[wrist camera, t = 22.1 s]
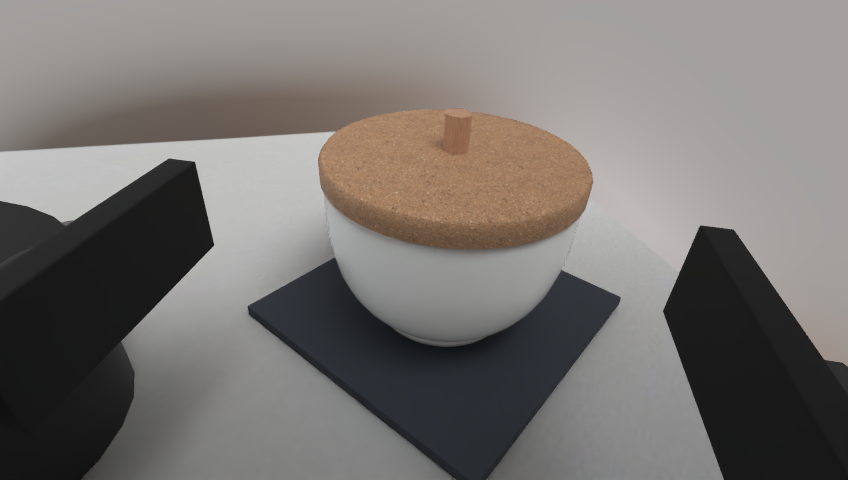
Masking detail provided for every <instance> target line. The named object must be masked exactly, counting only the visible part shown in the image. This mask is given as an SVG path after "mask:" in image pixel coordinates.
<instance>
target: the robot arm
mask: <svg viewBox="0 0 848 480" xmlns="http://www.w3.org/2000/svg"><path fill="white" fill-rule="evenodd" d="M213 246H214V242H213V238H212V234H211V229H210V225H209V221H208V216H207V212H206V208H205V204H204V199H203V195H202V191H201V186H200V182H199V178H198V173H197V169H196V165H195V162H192V161H184V160H176V159H168V160H166V161H165V162H163V163H161V164H160V165H158V166H157V167H155V168H154V169H152V170H151V171H149V172H148V173H146V174H145V175H143V176H142V177H140V178H139V179H137V180H135V181H134V182H132V183H131V184H129V185H128V186H126V187H125V188H123V189H122V190H120V191H119V192H117V193H116V194H114V195H112V196H111V197H109V198H108V199H106V200H105V201H103V202H102V203H100V204H99V205H97V206H96V207H94V208H93V209H91V210H90V211H88V212H86V213H85V214H83V215H82V216H80V217H79V218H77V219H76V220H74V221H73V222H71V223H70V224H68V225H67V226H65V227H63V228H62V229H60V230H59V231H57V232H56V233H54V234H53V235H51V236H50V237H48V238H47V239H45V240H44V241H42V242H41V243H39V244H37V245H36V246H34V247H31V248H29V249H26V250H24V251H21V252H19V253H17V254H15V255H13V256H12V257H10V258H8V259H7V260H5V261H4V262H2V263H1V264H0V430H2V431H7V432H12V433H17V434H21V435H26V436H29V435H30V434H31V433H32V432H33V431H34V430H35V429H36V428H37V427H38V426H39V425H40V424H41V423H42V422H43V421H44V420H45V419H46V418H47V417H48V416H49V415H50V414H51V413H52V412H53V411H54V410H55V409H56V408H57V407H58V406H59V404H60V403H61V402H62V401H63V400H64V399H65V398H66V397H67V396H68V395H69V394H70V393H71V392H72V391H73V390H74V389H75V388H76V387H77V386H78V385H79V384H80V383H81V382H82V381H83V380H84V379H85V378H86V377H87V376H88V375H89V374H90V373H91V372H92V371H93V370H94V368H95V367H96V366H97V365H98V364H99V363H100V362H101V361H102V360H103V359H104V358H105V357H106V356H107V355H108V354H109V353H110V352H111V351H112V350H113V349H114V348H115V347H116V346H117V345H118V344H119V343H120V342H121V341H122V340H123V339H124V338H125V337H126V336H127V335H128V333H129V332H130V331H131V330H132V329H133V328H134V327H135V326H136V325H137V324H138V323H139V322H140V321H141V320H142V319H143V318H144V317H145V316H146V315H147V314H148V313H149V312H150V311H151V310H152V309H153V308H154V307H155V306H156V305H157V304H158V303H159V302H160V301H161V300H162V299H163V297H164V296H165V295H166V294H167V293H168V292H169V291H170V290H171V289H172V288H173V287H174V286H175V285H176V284H177V283H178V282H179V281H180V280H181V279H182V278H183V277H184V276H185V275H186V274H187V273H188V272H189V271H190V270H191V269H192V268H193V267H194V266H195V265H196V264H197V263H198V261H199V260H200V259H201V258H202V257H203V256H204V255H205V254H206V253H207V252H208V251H209V250H210V249H211V248H212V247H213ZM663 312H664V315H665V318H666V321H667V324H668V326H669V329H670V332H671V335H672V337H673V340H674V343H675V346H676V348H677V351H678V354H679V357H680V359H681V362H682V365H683V368H684V370H685V373H686V376H687V379H688V381H689V384H690V387H691V390H692V393H693V395H694V398H695V401H696V404H697V406H698V409H699V412H700V415H701V417H702V420H703V423H704V426H705V428H706V431H707V434H708V437H709V439H710V442H711V445H712V448H713V450H714V453H715V456H716V459H717V462H718V464H719V467H720V470H721V473H722V475H723V478H724V480H848V367H847V366H846V365H845V364H843V363H840V362H833V361H826V360H824V359H823V358H822V356H821V355H820V353H819V352H818V351H817V349H816V348H815V346H814V345H813V343H812V342H811V340H810V339H809V338H808V336H807V335H806V333H805V332H804V330H803V329H802V327H801V326H800V324H799V323H798V322H797V320H796V319H795V317H794V316H793V314H792V313H791V311H790V310H789V309H788V307H787V306H786V304H785V303H784V301H783V300H782V298H781V297H780V296H779V294H778V293H777V292H776V290H775V288H774V287H773V286H772V284H771V283H770V281H769V280H768V278H767V277H766V275H765V274H764V273H763V271H762V270H761V268H760V267H759V266H758V264H757V262H756V261H755V260H754V258H753V257H752V255H751V254H750V252H749V251H748V250H747V248H746V247H745V245H744V244H743V242H742V241H741V239H740V238H739V236H738V235H737V234H736V232H735V231H734V230H732V229H724V228H716V227H708V226H700V227H699V230H698V232H697V234H696V236H695V239H694V241H693V243H692V246H691V248H690V250H689V252H688V255H687V257H686V260H685V262H684V264H683V266H682V269H681V271H680V273H679V276H678V278H677V280H676V282H675V285H674V287H673V289H672V292H671V294H670V296H669V299H668V301H667V303H666V306H665V308H664V310H663Z"/></svg>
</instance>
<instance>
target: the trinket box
mask: <svg viewBox="0 0 848 480" xmlns="http://www.w3.org/2000/svg"><path fill="white" fill-rule="evenodd" d="M318 164H319V175H320V184H321V188H322V190H323V192H324V202H325V211H326V219H327V227H328V233H329V237H330V242H331V246H332V250H333V253H334V256H335V258H336V261H337V264H338V267H339V269H340V271H341V274H342V276H343V278H344V280H345V281H346V283H347V285H348V286H349V288H350V290H351V291H352V292H353V294H354V295H355V297H356V298H357V299H358V300H359V301H360V302H361V303H362V304H363V306H364V307H365V308H367V309H368V310H369V311H370V312H371V313H372V314H373V315H374V316H375V317H377V318H378V319H380V320H381V321H383V322H384V323H386V324H387V325H389V326H391V327H392V328H393V329H394V330H396V331H397V332H398V333H400V334H401V335H403V336H405V337H407V338H409V339H411V340H414V341H416V342H419V343H423V344H427V345H432V346H441V347H454V346H462V345H467V344H471V343H474V342H477V341H479V340H481V339H483V338H485V337H487V336H490V335H493V334H495V333H498V332H500V331H502V330H505V329H507V328H508V327H510V326H512V325H513V324H515V323H516V322H518V321H519V320H521V319H522V318H524V317H525V316H527V315H528V314H529V313H530V312H531V311H532V310H533V309H534V308H535V307H536V306H537V305H538V304H539V303H540V302H541V301H542V299H543V298H544V297H545V296H546V295H547V293H548V292H549V290H550V288H551V287H552V285H553V284H554V282H555V280H556V279H557V277H558V275H559V274H560V272H561V270H562V268H563V266H564V263H565V261H566V259H567V257H568V254H569V252H570V249H571V246H572V243H573V239H574V236H575V233H576V230H577V227H578V224H579V220H580V216H581V214H582V213H583V212H584V210H585V208H586V205H587V202H588V198H589V195H590V191H591V188H592V184H593V178H592V172H591V169H590V167H589V165H588V163H587V161H586V160H585V158H584V157H583V156H582V155H581V154H580V153H579V152H578V151H577V150H576V149H575V148H574V147H573V146H571V145H570V144H569V143H567V142H566V141H564V140H562V139H561V138H559V137H557V136H555V135H553V134H551V133H549V132H547V131H545V130H542V129H540V128H537V127H534V126H532V125H529V124H526V123H523V122H520V121H516V120H513V119H508V118H504V117H500V116H494V115H489V114H485V113H476V112H471V111H468V110H465V109H458V108H456V109H455V108H454V109H449V110H412V111H402V112H394V113H388V114H383V115H378V116H374V117H370V118H367V119H363V120H360V121H357V122H355V123H352V124H350V125H348V126H346V127H344V128H342V129H341V130H339V131H337V132H336V133H334V134H333V135H332V136H331V137H330V138H329V139H328V140H327V142H326V143H325V144H324V146H323V147H322V149H321V151H320V154H319V158H318Z"/></svg>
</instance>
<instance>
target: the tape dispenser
mask: <svg viewBox="0 0 848 480" xmlns="http://www.w3.org/2000/svg"><path fill="white" fill-rule="evenodd" d="M71 222H73V221H66V222H62V223H61V222H60V221H58V220H57V219H56V218H55V217H53V216H51V215H48V214H45V213H43V212H40V211H38V210H35V209H33V208H30V207H27V206H22V205H17V204H12V203H7V202H2V201H0V264H1V263H2V262H4V261H5V260H7V259H8V258H10V257H12V256H13V255H15V254H17V253H19V252H21V251H24V250H26V249H29V248H31V247H34V246H36V245H37V244H39V243H41V242H42V241H44V240H45V239H47V238H48V237H50V236H51V235H53V234H54V233H56V232H57V231H59V230H60V229H62V228H63V227H65V226H67V225H68V224H70V223H71ZM133 393H134V371H133V368H132V366H131V363H130V361H129V358H128V356H127V354H126V351H125V349H124V347H123V345H122V343H121V342H120V343H119V344H118V345H117V346H116V347H115V348H114V349H113V350H112V351H111V352H110V353H109V354H108V355H107V356H106V357H105V358H104V359H103V360H102V361H101V362H100V363H99V364H98V365H97V366H96V367H95V368H94V370H93V371H92V372H91V373H90V374H89V375H88V376H87V377H86V378H85V379H84V380H83V381H82V382H81V383H80V384H79V385H78V386H77V387H76V388H75V389H74V390H73V391H72V392H71V393H70V394H69V395H68V396H67V397H66V398H65V399H64V400H63V401H62V402H61V403H60V404H59V406H58V407H57V408H56V409H55V410H54V411H53V412H52V413H51V414H50V415H49V416H48V417H47V418H46V419H45V420H44V421H43V422H42V423H41V424H40V425H39V426H38V427H37V428H36V429H35V430H34V431H33V432H32V433H31V434H30V435H29V436H26V435H21V434H17V433H12V432H7V431H2V430H0V480H80V479H81V478H82V477H83V476H84V475H85V474H86V472H87V471H88V470H89V469H90V468H91V467H92V466H93V465H94V464H95V463H96V462H97V461H98V460H99V458H100V457H101V456H102V454H103V453H104V451H105V450H106V448H107V447H108V445H109V444H110V443H111V441H112V440H113V438H114V437H115V435H116V434H117V432H118V431H119V430H120V428H121V427H122V425H123V422H124V419H125V417H126V414H127V412H128V409H129V407H130V404H131V402H132V399H133Z"/></svg>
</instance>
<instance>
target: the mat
mask: <svg viewBox="0 0 848 480" xmlns="http://www.w3.org/2000/svg"><path fill="white" fill-rule="evenodd" d="M620 299H621V297H619V296H617V295H615V294H612V293H610V292H608V291H606V290H604V289H601V288H599V287H597V286H595V285H593V284H590V283H588V282H586V281H584V280H582V279H579V278H577V277H575V276H573V275H571V274H569V273H566V272H564V271H562V270H561V272H560V274H559V275H558V277H557V279H556V280H555V282H554V284H553V285H552V287H551V288H550V290H549V292H548V293H547V295H546V296H545V297H544V298H543V299H542V301H541V302H540V303H539V304H538V305H537V306H536V307H535V308H534V309H533V310H532V311H531V312H530V313H529V314H528V315H527V316H525V317H524V318H522V319H521V320H519V321H518V322H516V323H515V324H513V325H512V326H510V327H508V328H507V329H505V330H502V331H500V332H498V333H495V334H493V335H490V336H487V337H485V338H483V339H481V340H479V341H477V342H474V343H471V344H467V345H462V346H454V347H441V346H432V345H427V344H423V343H419V342H416V341H414V340H411V339H409V338H407V337H405V336H403V335H401V334H400V333H398V332H397V331H396V330H394V329H393V328H392V327H391V326H389V325H387V324H386V323H384V322H383V321H381V320H380V319H378V318H377V317H375V316H374V315H373V314H372V313H371V312H370V311H369V310H368V309H367V308H365V307H364V306H363V304H362V303H361V302H360V301H359V300H358V299H357V298H356V297H355V295H354V294H353V292H352V291H351V290H350V288H349V286H348V285H347V283H346V281H345V280H344V278H343V276H342V274H341V271H340V269H339V267H338V264H337V261H336V258H333V259H332V260H330V261H328V262H326V263H324V264H323V265H321V266H319V267H317V268H315V269H314V270H312V271H310V272H308V273H307V274H305V275H303V276H301V277H299V278H298V279H296V280H294V281H292V282H290V283H289V284H287V285H285V286H283V287H281V288H280V289H278V290H276V291H274V292H272V293H271V294H269V295H267V296H265V297H264V298H262V299H260V300H258V301H256V302H255V303H253V304H251V305H249V306H248V311H249V314H250V315H251V316H252V317H254V318H255V319H256V320H258V321H259V322H260V323H261V324H263V325H264V326H265V327H266V328H268V329H269V330H270V331H271V332H273V333H274V334H275V335H276V336H278V337H279V338H280V339H281V340H283V341H284V342H285V343H286V344H288V345H289V346H290V347H292V348H293V349H294V350H295V351H297V352H298V353H299V354H300V355H302V356H303V357H304V358H305V359H307V360H308V361H309V362H310V363H312V364H313V365H314V366H315V367H317V368H318V369H319V370H320V371H322V372H323V373H324V374H325V375H327V376H328V377H329V378H331V379H332V380H333V381H334V382H336V383H337V384H338V385H339V386H341V387H342V388H343V389H344V390H346V391H347V392H348V393H349V394H351V395H352V396H353V397H354V398H356V399H357V400H358V401H359V402H361V403H362V404H363V405H365V406H366V407H367V408H368V409H370V410H371V411H372V412H373V413H375V414H376V415H377V416H378V417H380V418H381V419H382V420H383V421H385V422H386V423H387V424H388V425H390V426H391V427H392V428H393V429H395V430H396V431H397V432H398V433H400V434H401V435H402V436H404V437H405V438H406V439H407V440H409V441H410V442H411V443H412V444H414V445H415V446H416V447H417V448H419V449H420V450H421V451H422V452H424V453H425V454H426V455H427V456H429V457H430V458H431V459H432V460H434V461H435V462H436V463H438V464H439V465H440V466H441V467H443V468H444V469H445V470H446V471H448V472H449V473H450V474H451V475H453V476H454V477H455V478H456V479H458V480H486V479H487V477H488V476H489V475H490V473H491V472H492V471H493V469H494V468H495V467H496V466H497V464H498V463H499V462H500V460H501V459H502V458H503V456H504V455H505V454H506V452H507V451H508V450H509V448H510V447H511V446H512V444H513V443H514V442H515V440H516V439H517V438H518V436H519V435H520V434H521V433H522V431H523V430H524V429H525V427H526V426H527V425H528V423H529V422H530V421H531V419H532V418H533V417H534V415H535V414H536V413H537V411H538V410H539V409H540V407H541V406H542V405H543V403H544V402H545V401H546V400H547V398H548V397H549V396H550V394H551V393H552V392H553V390H554V389H555V388H556V386H557V385H558V384H559V382H560V381H561V380H562V378H563V377H564V376H565V374H566V373H567V372H568V370H569V369H570V368H571V367H572V365H573V364H574V363H575V361H576V360H577V359H578V357H579V356H580V355H581V353H582V352H583V351H584V349H585V348H586V347H587V345H588V344H589V343H590V341H591V340H592V339H593V337H594V336H595V335H596V334H597V332H598V331H599V330H600V328H601V327H602V326H603V324H604V323H605V322H606V320H607V319H608V318H609V316H610V315H611V314H612V312H613V311H614V310H615V308H616V307H617V306H618V304H619V302H620Z"/></svg>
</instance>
